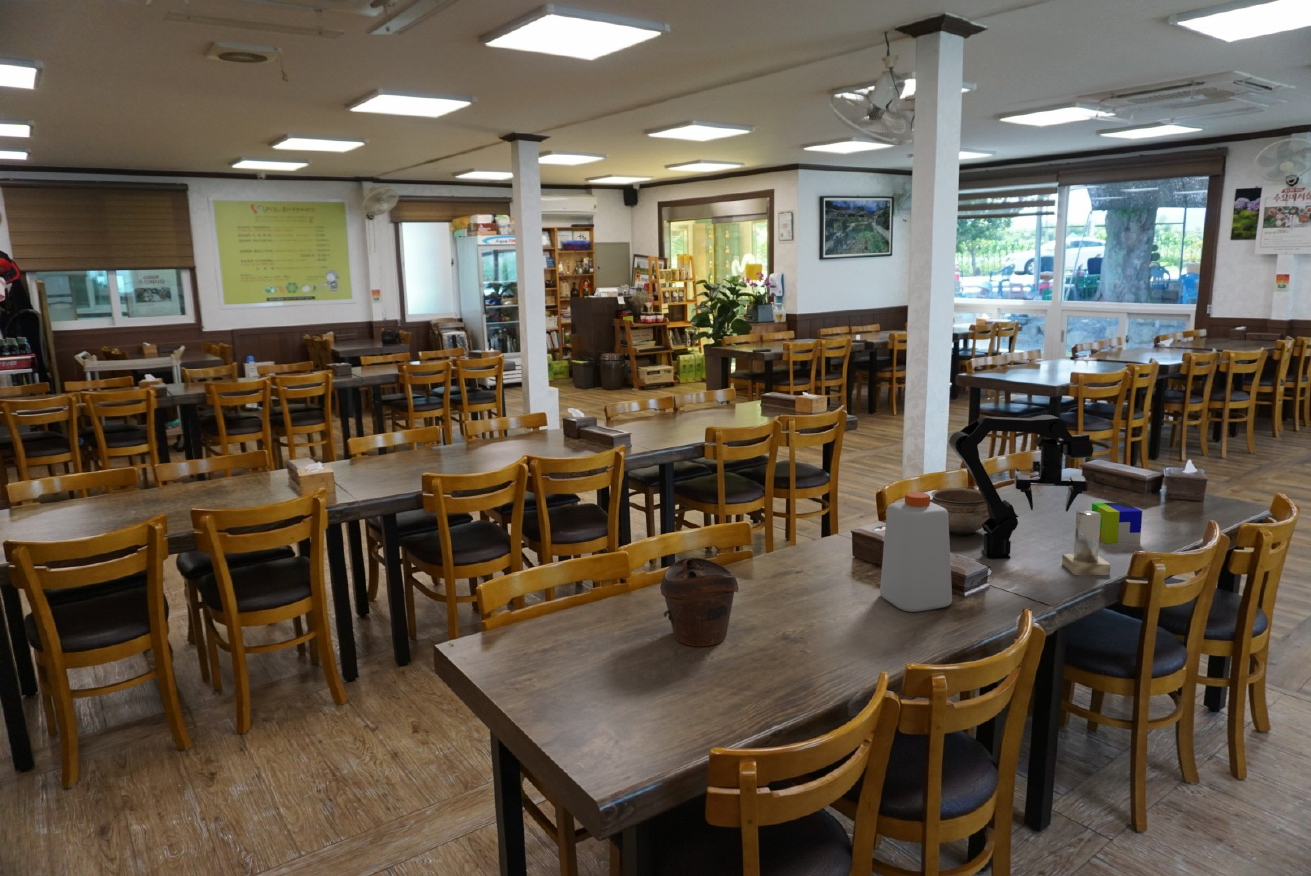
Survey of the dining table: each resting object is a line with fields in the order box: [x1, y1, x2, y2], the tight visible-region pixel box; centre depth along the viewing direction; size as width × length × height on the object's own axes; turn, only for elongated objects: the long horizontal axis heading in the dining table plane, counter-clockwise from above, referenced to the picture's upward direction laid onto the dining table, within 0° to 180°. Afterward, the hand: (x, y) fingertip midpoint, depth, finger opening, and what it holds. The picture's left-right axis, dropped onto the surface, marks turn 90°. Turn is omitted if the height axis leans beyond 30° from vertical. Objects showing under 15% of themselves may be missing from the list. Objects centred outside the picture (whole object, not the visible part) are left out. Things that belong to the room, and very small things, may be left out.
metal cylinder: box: [1073, 509, 1101, 563], centre depth 233 cm, size 6×6×13 cm
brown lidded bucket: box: [660, 556, 740, 647], centre depth 200 cm, size 18×20×18 cm
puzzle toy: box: [1091, 501, 1143, 545], centre depth 258 cm, size 10×10×10 cm
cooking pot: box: [930, 487, 989, 536], centre depth 270 cm, size 25×19×12 cm
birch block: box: [1061, 553, 1111, 576], centre depth 234 cm, size 9×9×3 cm
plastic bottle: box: [879, 491, 953, 613], centre depth 215 cm, size 15×15×28 cm
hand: (1049, 510), depth 247 cm, fingers open, 9 cm apart
